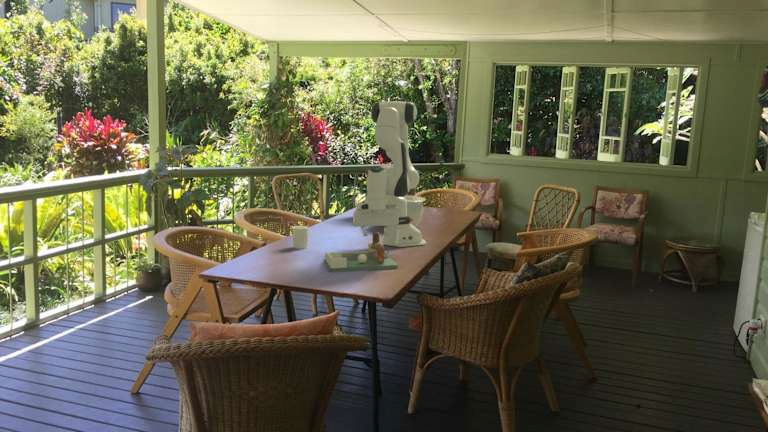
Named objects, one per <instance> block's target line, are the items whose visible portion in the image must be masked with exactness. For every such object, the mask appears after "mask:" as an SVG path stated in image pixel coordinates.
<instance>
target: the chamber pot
mask: <svg viewBox="0 0 768 432" xmlns="http://www.w3.org/2000/svg"><path fill="white" fill-rule="evenodd" d="M404 197H405V198H406V200H407V216H409V217H412V218H413V219H414V220H413V221H412V222H410V223H411V224H412V225H413V226H415V227H416V228H417V227H418V225H419V224H420V221H421V220H422V219H423V214H424V205H423V204H422V203H423V202H426V200H427V199H426V198H425V197H423V196H419V195H416V194H415V195H405V196H404Z"/></svg>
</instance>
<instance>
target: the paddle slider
mask: <svg viewBox="0 0 768 432" xmlns="http://www.w3.org/2000/svg"><path fill="white" fill-rule="evenodd" d="M367 245H368V246H367V247H368V250H367V251H370V252H377V261H378V262H379V263H384V251H385V248H384V244H382V243H381V242H380V232H378V231H377V232H374V231H373V232H372V243H368V244H367Z"/></svg>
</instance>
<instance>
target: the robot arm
mask: <svg viewBox="0 0 768 432" xmlns="http://www.w3.org/2000/svg"><path fill="white" fill-rule="evenodd" d="M417 115H418V110H417V107H416V104H415V103H414V102H412V101H402V100H401V101H400V100H393V101H392V100H391V101H389V100H388V101H377V102H374V104H372V106H371V109H370V116H371V120H372V121H373V123H375V129H374V130H375V131H374V138H375V139H374V140H375V143H376V144H377V146H379V147H380V148H381V149H382V150H384V151H385V154H386V156H387V157H388V158H389V159H390V160H391V162H392V165H382V166H374V167H371V168H369V171H368V175H367V176H366V177H367V178H366V190H367V194H366V199H365V200H363V201H360V202H356V203H355V210H354V212H353V218H352V224H353V225H354V226H355V227H360V229H361V231H362V233H363V234H362V235H363V237H367V236H368V231H365V228H366V227H382V226H383V228H384V229H383V234H382V240H381V242H380V243H382V244H383V245H386V246H391V247H398V248H404V247H412V246H425V245H427V242H426V240H425V239H423V238H422V237H423V236H422V233H421V231H420V229H419V228H417V226H416V227H415V226H413V225H412V224H411V223H410V222H412V221H413V220H414V219H413V218H412V217H409V216H407V200H406V198H405V197H404V196H405V195H407V194H408V193H409V190H410V189H413V188H415V189H416V187H418V185H419V183H420V174H418V172H417V171H416V170H417V169H415V167H414V166H413V164H412V161H411V158H410V154H409V126H410V125H412V124H413V123H414V122H415V121H416V119H417Z"/></svg>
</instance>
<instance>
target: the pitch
mask: <svg viewBox="0 0 768 432" xmlns="http://www.w3.org/2000/svg"><path fill="white" fill-rule="evenodd" d="M326 253H327V261H326V260H325V258H323V264H324V265H325V266H326V268H327V269H328V271H329V273H331V272H332V273H333V272H334V273H335V272H337V273H338V272H350V271H351V272H353V271H354V272H355V271H356V272H357V271H374V270H392V269H393V270H395V269H399V266H398V264H397V263H396V262H395V261H394V260H392V259H391V258H390V257H389V256H388V258H384V263H379V262H378V261H377V258H373V259H367V261H366V262H365V263H360V262H359V261H358V259H351V260H347V258H342V251H332V252H331V251H329V252H326Z"/></svg>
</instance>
